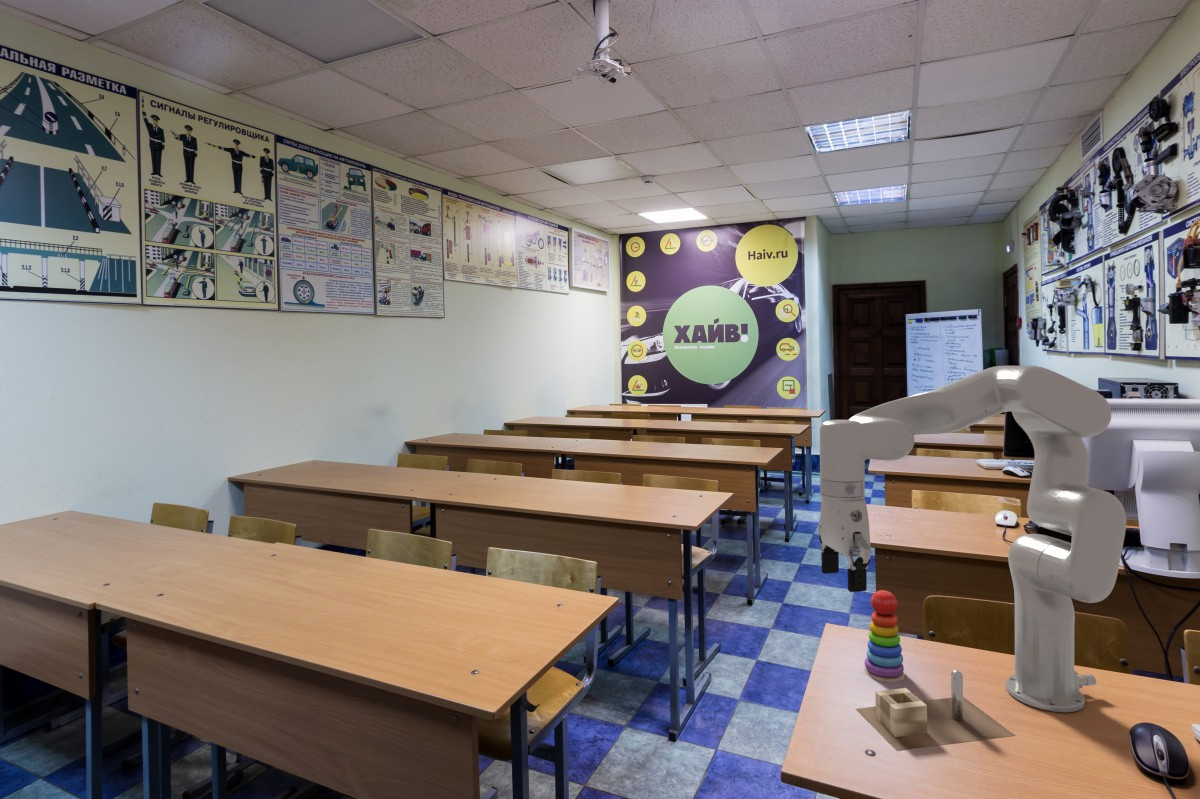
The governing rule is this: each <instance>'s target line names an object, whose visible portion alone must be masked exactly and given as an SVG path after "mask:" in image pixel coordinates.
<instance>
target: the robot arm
mask: <svg viewBox="0 0 1200 799" xmlns="http://www.w3.org/2000/svg"><path fill="white" fill-rule="evenodd" d="M1005 412H1007V413H1008V412H1011V414H1012V416H1013V418H1014V419H1013V420H1015V422H1016V423H1017V425H1018V426H1019V427H1020V428H1022V430H1023V432H1025V433H1026V435H1027V436H1028V439H1029V440H1030V442H1031V444H1032V446H1033V450H1034V460H1033V469H1032V472H1031V480H1030V484H1029V485H1030V486H1029V491H1028V495H1027V503H1026V515H1027V516H1028V518H1029V520H1030V521H1031V522H1032V523H1033V524H1036V525H1037V526H1039V527H1042V528H1043V529H1047V530H1051V531H1054V532H1057V533H1061V534H1064V535H1067V536H1071V542H1069V541H1066V540H1062V539H1059V538H1055V537H1052V536H1049V535H1046V534H1039V533H1026V534H1023V535H1021V536H1019V537H1017V538H1016V539H1014V540H1013V542H1012V543H1011V545H1010V547H1009V550H1008V555H1007V557H1008V567H1009V570H1010V571H1009V572H1010V575H1011V580H1012V584H1013V585H1012V586H1013V591H1014V592H1013V594H1014V675H1011V676H1009V677H1007V679H1006V680H1005V689H1006V690H1007V692H1008V694H1009V695H1011V697H1013V698H1015V699H1016V700H1017V701H1020V702H1021V703H1023V704H1026V705H1028V706H1030V707H1034V708H1036V709H1039V710H1040V709H1041V710H1043V711H1049V712H1055V713H1073V712H1078V711H1081V710H1082V709H1083V708H1084V707H1085V700H1086V699H1085V696H1084V694H1082V692H1081V691H1080V689H1082V688H1083V687H1084V686H1085V687H1086V686H1094V685H1097V679H1096V677H1095V676H1094V675H1093V674H1090V673H1088V674H1081V675H1079V673H1078V672H1077V671H1076V670H1075V623H1076V621H1075V619H1076V618H1075V615H1076V614H1075V613H1076V612H1075V608H1074V604H1073V600H1072V599H1074V600H1076V601H1078V602H1083V603H1087V604H1093V603H1099V602H1102V601H1103V600H1105V599H1107V598H1108V597H1109V595H1110V594H1111V593H1112V591H1113V589H1114V587H1115V585H1116V583H1117V578H1118V573H1119V570H1120V569H1119V567H1120V562H1121V558H1122V551H1123V546H1124V542H1125V537H1126V530H1127V529H1126V528H1127V515H1126V510H1125V507H1124V506H1123V504H1122V503H1121V501H1120V500H1119V499H1118V497H1117V496H1115V495H1113V494H1112V493H1111V492H1109V491H1106V490H1103V489H1099V488H1097V487H1096V488H1095V487H1090V486H1088V485H1087V484H1088V476H1089V474H1088V473H1089V466H1090V457H1089V452H1088V449H1087V447H1086V443H1085V442H1084V440H1083V438H1092V437H1095V436H1099V435H1100V434H1101V433H1103V432H1104V431H1106V429H1108V427H1109V425H1110V424H1111V420H1112V410H1111V406H1110V403H1109V402H1108V400H1107V399H1106V398H1105V397H1104V396H1103V395H1102V394H1100V393H1099V392H1098V391H1096V390H1094V389H1093V388H1090V387H1087V386H1085V385H1084V384H1081V383H1080V382H1078V381H1075V380H1073V379H1071V378H1069V377H1067V376H1065V375H1062V374H1060V373H1058V372H1056V371H1053V370H1051V369H1049V368H1046V367H1042V366H1039V365H997V366H992V367H988V368H985V369H983V370H981V371H978V372H976V373H973V374H970V375H968V376H966V377H964V378H961V379H958V380H955V381H954V382H951V383H949V384H947V385H944V386H941V387H938V388H936V389H933V390H929V391H924V392H920V393H917V394H913V395H910V396H907V397H906V396H905V397H903V398H899V399H895V400H892V401H891V400H890V401H888V402H884V403H882V404H879V405H876V406H873V407H871V408H868V409H866V410H864V411H861V412H859V413H856V414H854V415H853V416H851V417H849V419H830V420H826V421H823V422H822V423H821V425H820V427H819V488H820V489H819V492H820V493H819V496H820V497H821V501H820V503H821V504H820V514H819V517H820V518H819V521H820V522H819V524H817V530H818V535H819V536H818V540H819V542H820V546H819V548H820V551H821V555H820V557H821V573H822V574H823V575H824V574H825V575H826V574H827V575H828V574H829V575H830V574H838V573H839V572H840V571H839V569H840V566H839V565H840V559H839V558H840V557H839V556H840V555H839V554H841V555H843V556H845V558H846V560H847V563H848V566H849V568H847V590H848V592H850V593H856V592H857V593H859V592H866V591H867V587H868V586H867V584H868V583H867V581H868V580H867V577H868V576H867V575H868V574H867V572H868V571H867V570H868V569H869V565H870V563H871V557H872V554H873V551H872V550H873V549H872V548H871V535H870V533H871V532H870V522H869V513H868V507H867V502H866V498H865V497H866V493H865V492H866V490H865V488H866V487H865V482H866V481H865V480H866V479H865V478H866V476H865V475H866V474H865V467H866V466H865V463H866V462H865V461H866V460H877V461H889V462H890V461H898V460H901V459H903V458H905V457H906V456H908V455H909V454H910V453H911V451H912V449H913V448H914V446H915V436H918V435H940V434H941V435H942V434H948V433H955V432H959V431H962V430H964V429H966V428H969V427H971V426H973V425H975V424H978V423H980V422H983V421H985V420H987V419H989V418H990V419H991V418H993V417H995V416H997V415H999V414H1002V413H1005ZM855 557H856V559H854V558H855Z"/></svg>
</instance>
